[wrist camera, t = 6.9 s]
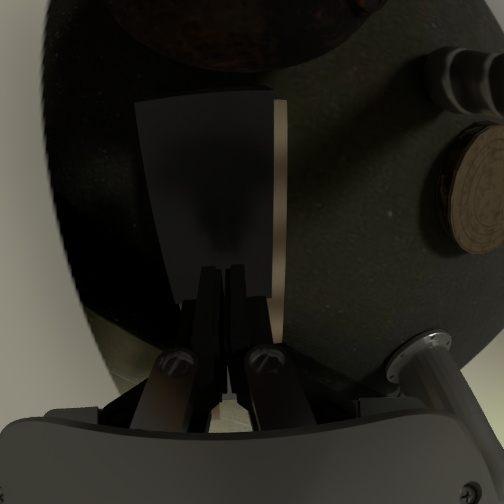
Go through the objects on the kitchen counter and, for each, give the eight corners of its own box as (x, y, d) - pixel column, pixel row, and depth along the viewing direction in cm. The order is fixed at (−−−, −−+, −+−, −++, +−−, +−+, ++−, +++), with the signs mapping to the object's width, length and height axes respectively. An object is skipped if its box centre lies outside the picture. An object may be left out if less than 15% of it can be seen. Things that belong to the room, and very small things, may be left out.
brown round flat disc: (423, 140, 24) (440, 147, 22) (509, 108, 22) (526, 113, 19) (440, 261, 32) (452, 274, 29) (515, 215, 29) (528, 225, 27)
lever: (263, 370, 26) (267, 402, 23) (209, 373, 26) (209, 406, 23) (262, 83, 12) (273, 90, 9) (155, 92, 12) (134, 103, 9)
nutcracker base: (277, 323, 34) (295, 413, 24) (192, 329, 34) (184, 419, 23) (279, 99, 22) (325, 107, 11) (156, 108, 21) (96, 126, 11)
